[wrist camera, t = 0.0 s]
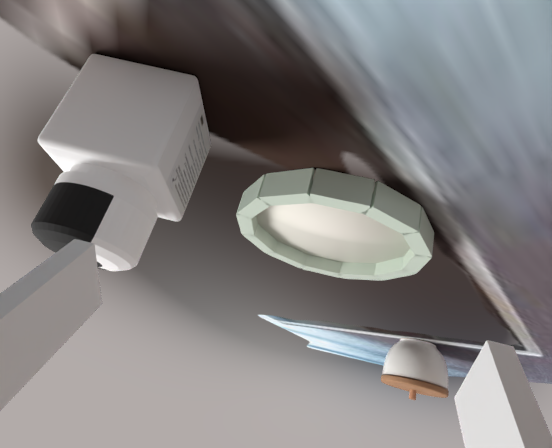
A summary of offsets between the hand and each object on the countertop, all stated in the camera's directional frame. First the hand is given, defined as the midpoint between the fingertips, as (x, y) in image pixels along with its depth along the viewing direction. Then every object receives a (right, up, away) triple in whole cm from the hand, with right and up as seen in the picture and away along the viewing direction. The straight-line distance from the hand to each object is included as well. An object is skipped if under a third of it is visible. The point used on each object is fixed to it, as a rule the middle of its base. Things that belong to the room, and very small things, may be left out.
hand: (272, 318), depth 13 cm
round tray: (+6, +3, +27) cm, 28 cm away
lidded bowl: (+30, -21, +67) cm, 76 cm away
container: (-9, +13, +16) cm, 22 cm away
